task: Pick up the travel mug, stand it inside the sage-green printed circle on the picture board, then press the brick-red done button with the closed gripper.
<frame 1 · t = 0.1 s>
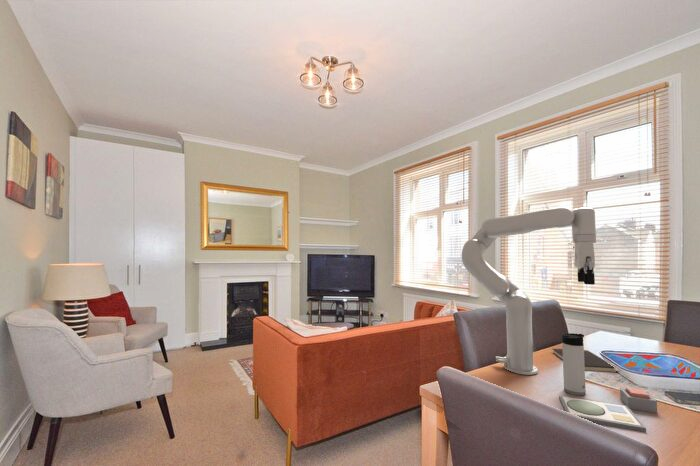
hand: (586, 283, 126), 37 cm above the table, tool pointing down, fingers open, 9 cm apart
done button: (637, 394, 103), point 3 cm above the table, slide at 0.0 cm
travel mug: (575, 392, 113), on the table
button housing: (638, 405, 103), on the table
hardcover book: (582, 362, 144), on the table
picture board: (598, 413, 98), on the table
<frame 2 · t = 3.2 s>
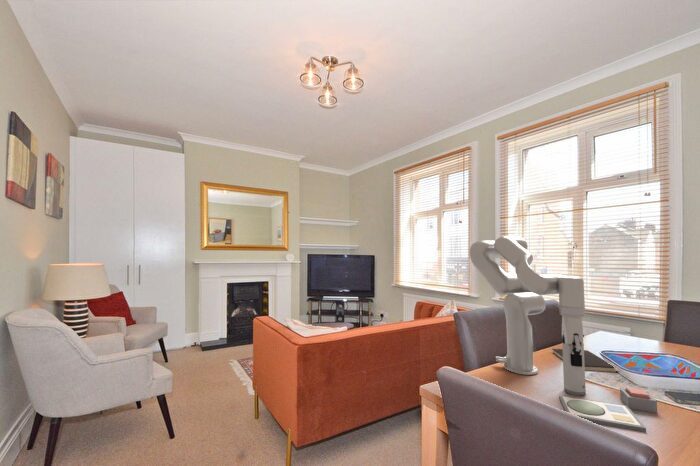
hand: (574, 362, 114), 10 cm above the table, tool pointing down, fingers closed on travel mug, 6 cm apart
travel mug: (575, 392, 113), on the table, touching gripper
everything else where it was.
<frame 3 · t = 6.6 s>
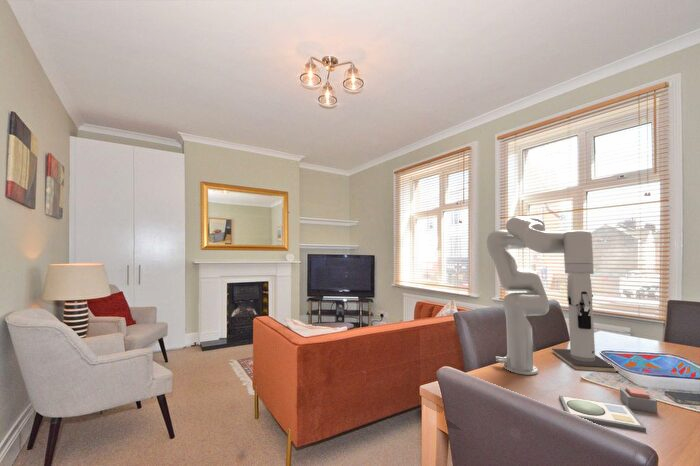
hand: (581, 325, 102), 26 cm above the table, tool pointing down, fingers closed on travel mug, 6 cm apart
travel mug: (583, 359, 101), point 16 cm above the table, touching gripper
everything else where it was.
when the fingers open (12 cm above the table, at t = 9.7 s): travel mug drops 1 cm, resting on picture board.
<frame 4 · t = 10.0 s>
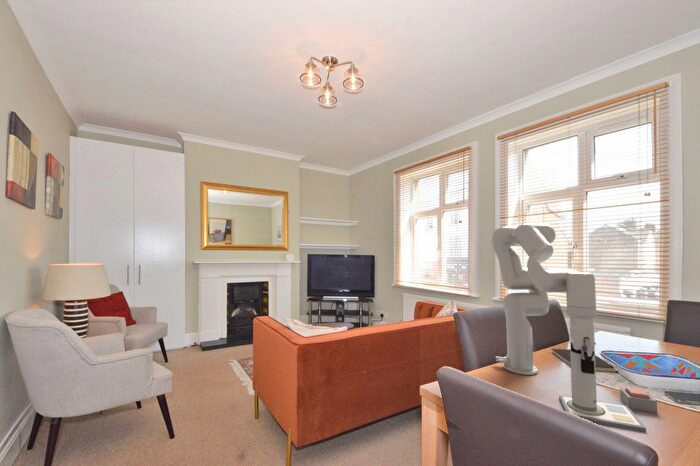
hand: (583, 367, 100), 13 cm above the table, tool pointing down, fingers open, 9 cm apart
travel mug: (584, 407, 100), point 1 cm above the table, touching picture board
everything else where it was.
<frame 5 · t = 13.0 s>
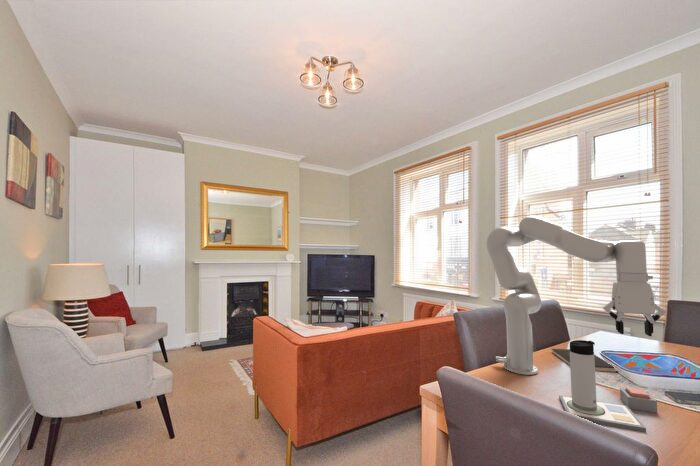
hand: (634, 333, 104), 23 cm above the table, tool pointing down, fingers open, 6 cm apart
nothing on the table moved.
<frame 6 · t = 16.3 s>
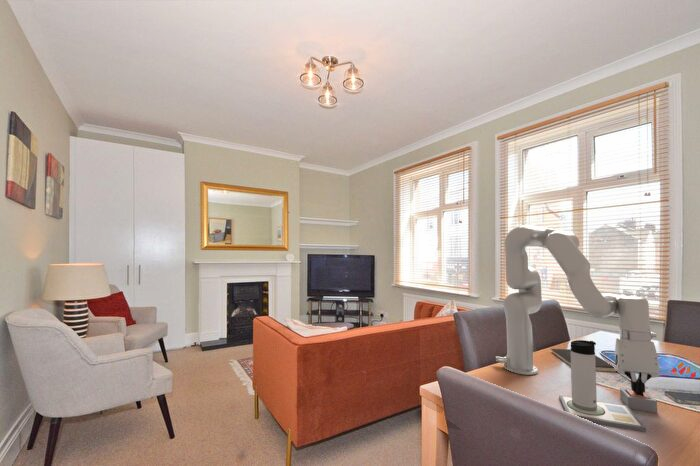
hand: (638, 393, 103), 4 cm above the table, tool pointing down, fingers closed
done button: (637, 396, 103), point 3 cm above the table, slide at 0.8 cm, touching gripper
everything else where it was.
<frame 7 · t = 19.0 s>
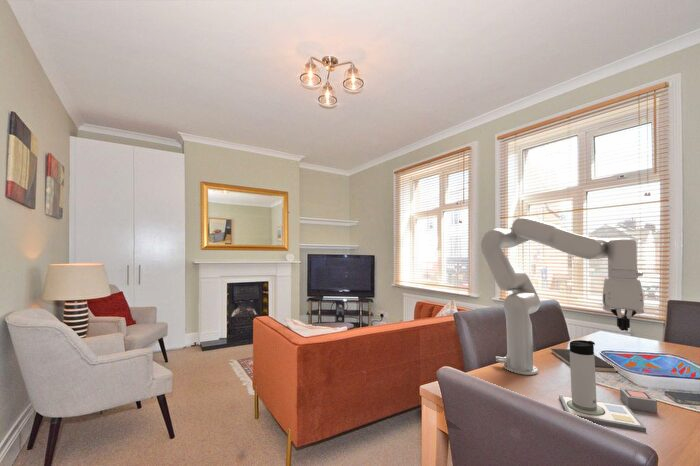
hand: (623, 329, 108), 23 cm above the table, tool pointing down, fingers closed
done button: (637, 397, 103), point 2 cm above the table, slide at 1.0 cm, touching button housing
everything else where it was.
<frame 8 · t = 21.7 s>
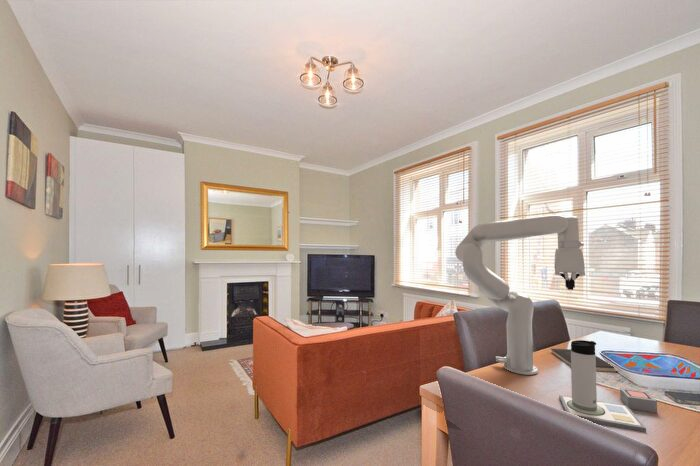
hand: (570, 289, 135), 33 cm above the table, tool pointing down, fingers closed
nothing on the table moved.
at the end: travel mug 0.2 cm from the target spot, point 1.1 cm above the table; travel mug tilted 1°; done button slide at 1.0 cm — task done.
